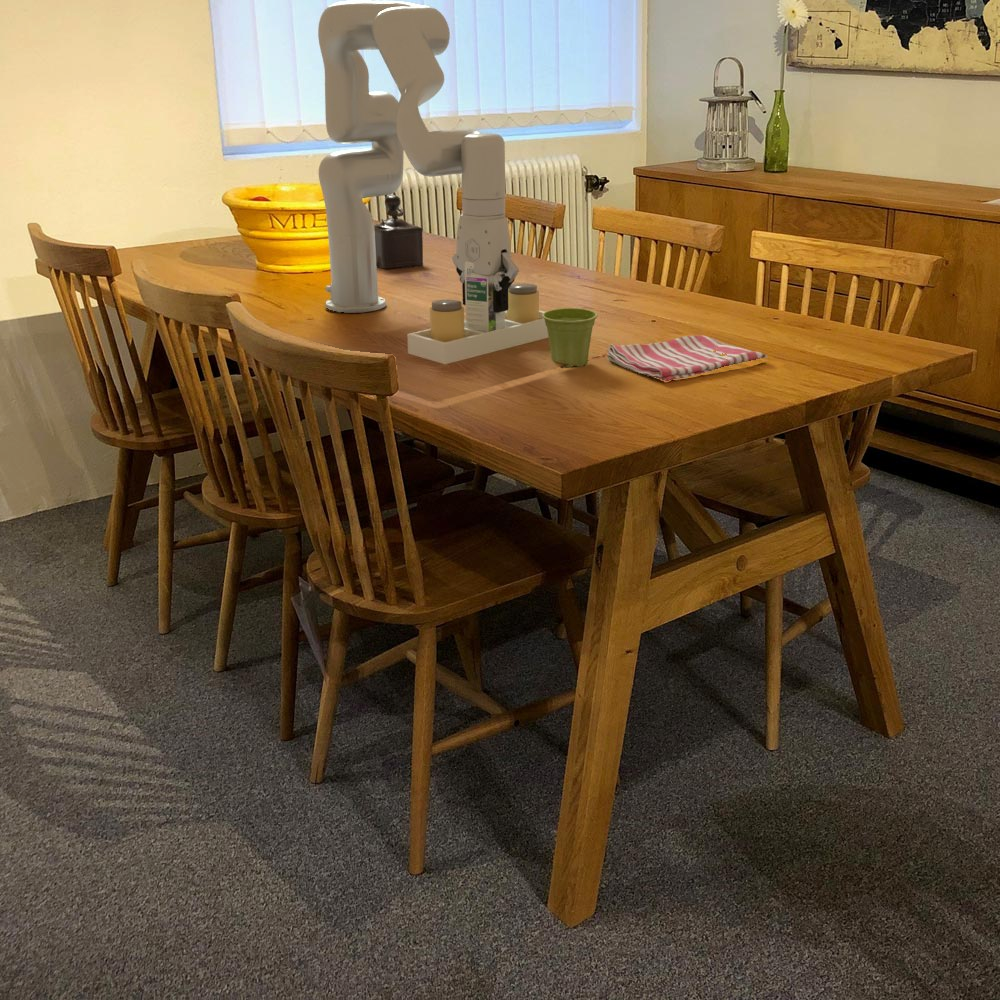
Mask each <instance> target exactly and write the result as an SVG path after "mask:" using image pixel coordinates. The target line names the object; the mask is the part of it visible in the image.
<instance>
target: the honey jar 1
mask: <svg viewBox="0 0 1000 1000" xmlns="http://www.w3.org/2000/svg"><path fill="white" fill-rule="evenodd" d="M462 305H463V303H462V301H461V300H457V299H438V300H434V301H432V302H431V307H430V308H429V329H430V332H431V339H434V340H438V341H441V342H449V341H453V340H457V339H461V338H465V331H464V321H465V308H464V306H462Z"/></svg>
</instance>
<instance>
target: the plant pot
mask: <svg viewBox="0 0 1000 1000" xmlns="http://www.w3.org/2000/svg"><path fill="white" fill-rule="evenodd" d="M542 317H543V318H544V319H545V324H546V326H547V330H548V336H549V337H548V341H549V349H550V357H551V360H552V361H553V362H555V363H559V364H563V365H560V367H561V368H570V367H572V366H573V367H574V366H576V367H582V366H584V365H586V364H588V359H589V353H590V345H591V339H592V332H593V327H594V326H595V320H596V319H597V318H598V312H597V311H594V310H590V309H587V308H579V307H562V308H554V309H549V310H546V311H544V313H543V314H542Z"/></svg>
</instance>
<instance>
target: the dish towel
mask: <svg viewBox="0 0 1000 1000" xmlns="http://www.w3.org/2000/svg"><path fill="white" fill-rule="evenodd" d="M717 346H718V347H717ZM714 350H716V352H713V351H714ZM717 350H718V351H717ZM606 352H607V355H606V357H607V358H608V361H610V362H612V363H614V364H617V365H618V366H620V367H623V368H625V369H626V368H627V370H629V369H630V370H629V371H632V372H636V373H637V372H638V373H637V374H640V373H641V374H640V375H642V374H644V375H643V376H645V375H647V376H646V377H649V376H652V377H656V378H659V379H662V380H665V381H669V380H673V379H680V378H686V377H689V376H694V375H696V374H701V373H705V372H709V371H712V370H715V369H718V368H721V367H724V366H729V365H733V364H738V363H742V362H747V361H751V360H756V359H760V358H768V356H767V354H765V353H762V352H760V351H754V350H753V351H752V350H750V349H748V348H747V349H746V348H745V347H744V348H742V347H738V346H736V345H731V344H728V343H723V342H721V341H719V340H716V339H715V338H712V337H710V336H707V335H683V336H682V337H677V338H674V339H672V340H671V339H670V340H667V341H663V342H655V343H653V342H652V343H648V344H640V343H634V344H626V345H623V344H622V345H620V346H618V345H616V344H612V343H611V344H610V345H609V347H607V349H606ZM722 353H723V354H725V353H726V354H727V355H725V356H720V355H722ZM768 359H769V358H768ZM652 377H651V378H652Z"/></svg>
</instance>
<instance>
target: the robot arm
mask: <svg viewBox="0 0 1000 1000" xmlns="http://www.w3.org/2000/svg"><path fill="white" fill-rule="evenodd" d="M323 10H324V11H323V12H322V14H321V15H320V19H319V21H318V30H317V31H318V32H317V37H318V44H319V48H320V54H321V56H322V61H323V63H322V64H323V68H324V97H325V98H324V99H325V100H324V101H325V102H324V106H325V109H324V110H325V111H324V113H325V114H324V115H325V126H326V127H325V128H326V132H327V135H328V137H329V138H330V139H331V141H333V142H334V143H337V144H342V145H343V144H345V145H351V144H352V145H353V144H367V143H371V148H362V149H360V148H358V149H357V148H356V149H347V150H345V149H344V150H339V151H334V152H331V153H329V154H327V155H326V156H324V157H323V159H322V160H321V162H320V163H319V166H318V180H319V184H320V188H321V192H322V196H323V200H324V207H325V214H326V225H327V226H326V227H327V235H328V250H329V264H330V265H329V266H330V267H329V268H330V279H331V283H330V284H329V285H326V286H325V289H324V290H325V291H326V292H327V293H330V299H327V300H326V301H325V308H326V309H327V308H328V309H330V310H333V311H332V312H334V311H337V312H336V313H341V312H344V313H345V314H352V313H353V314H358V313H359V314H360V313H368V312H369V313H370V312H375V311H378V310H381V309H383V308H385V307H386V306H387V301H386V299H385V298H383V297H381V296H379V292H378V289H379V288H378V287H379V285H378V272H377V270H378V267H377V266H376V248H375V231H374V225H375V221H374V218H373V215H372V214H371V211H370V210H369V209H368V207H367V205H366V204H365V202H364V201H363V199H366V198H373V197H380V196H382V197H383V196H389V195H393V194H394V193H396V192H397V191H398V190H399V189H400V188H401V185H402V183H403V177H404V159H405V157H404V153H405V156H406V157H407V159H408V160H409V162H410V164H411V166H412V167H413V169H414V170H415V171H417V173H419V174H420V175H422V176H424V177H431V178H432V177H433V178H434V177H442V176H452V175H461V205H462V206H461V208H462V213H461V214H459V219H458V224H457V230H456V231H457V232H456V250H455V251H456V253H455V254H454V255H453V256H452V258H451V259H452V263H453V265H454V267H455V268H456V269H455V270H456V273H457V274H458V276H459V282H460V283H462V285H461V287H462V305H464V306H466V303H465V262H466V261H469V262H472V263H473V264H474V270H475V273H477V274H479V275H482V276H493V283H494V286H495V288H496V290H493V311H494V312H495V313H498V312H503V311H507V310H508V290H509V288H511V285H513V283H514V282H515V279H516V278H517V276H518V274H519V272H520V269H519V267H518V266H517V264H516V263H515V262H514V260H512V250H511V248H512V247H511V235H510V229H509V222H508V218H507V216H506V145H505V139H504V138H503V136H501V135H500V134H497V133H488V132H480V131H479V130H476V129H471V128H462V129H460V128H459V129H445V130H432V131H429V130H428V128H427V126H426V124H425V122H424V121H423V118H422V116H421V114H420V110H419V107H420V106H422V105H423V104H425V103H427V102H428V101H430V100H431V99H433V98H434V97H435V96H436V95H437V94H438V93H439V92H440V90H441V89H442V87H443V86H444V83H445V74H444V72H443V71H444V70H443V69H442V68H441V66H440V64H439V61H438V59H437V58H436V56H439V55H442V54H443V53H444V52H445V51H446V50H447V48H448V46H449V43H450V38H451V37H450V35H451V34H450V28H449V23H448V22H447V19H446V17H445V16H444V15H443V13H442V12H440V10H439V9H438V8H434V7H432V6H428V5H420V4H415V3H411V2H405V1H397V0H395V1H394V0H381V1H380V0H373V1H372V0H346V1H339V2H334V3H333V4H330V5H328V6H327V7H326V8H325V9H323ZM361 50H363V51H364V50H365V51H366V50H367V51H368V50H373V51H374V50H378V51H379V53H380V55H381V57H382V59H383V61H384V63H385V65H386V67H387V69H388V71H389V74H390V75H391V77H392V79H393V81H394V83H395V85H396V87H397V90H398V91H399V93H400V99H399V100H398V99H397V98H396V96H394V95H393V94H391V93H390V92H385V91H370V88H369V87H370V85H369V83H370V82H369V81H370V76H369V75H370V74H369V68H368V65H367V63H366V61H365V59H364V57H363V55H362V54H361V53H360V51H361ZM498 270H499V272H498ZM499 276H501V278H502V280H501V281H500V280H499ZM328 309H327V310H328ZM330 310H329V311H330Z"/></svg>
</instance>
